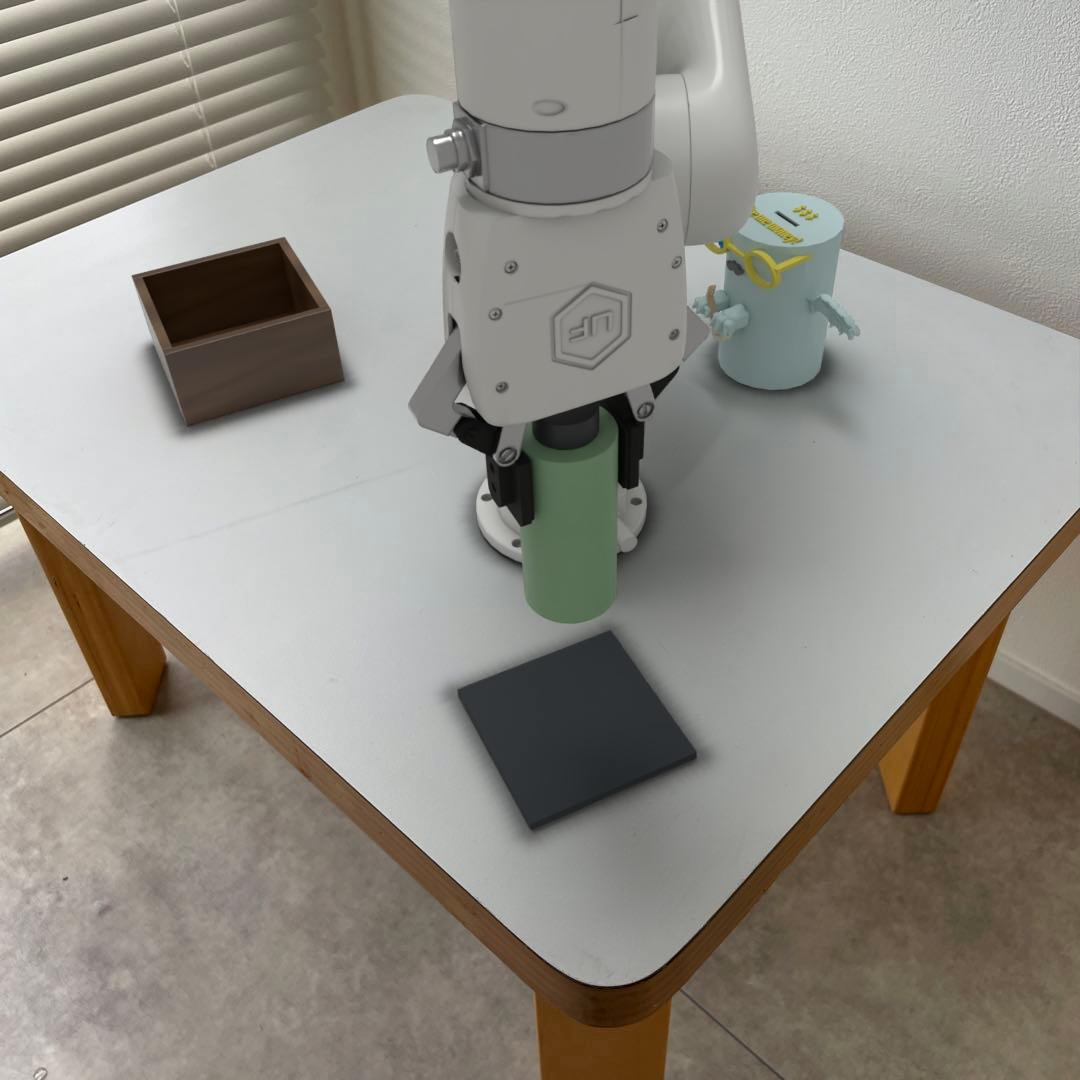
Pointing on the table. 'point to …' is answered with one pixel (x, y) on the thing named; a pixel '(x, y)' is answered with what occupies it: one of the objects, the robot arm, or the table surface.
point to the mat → (574, 727)
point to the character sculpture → (778, 292)
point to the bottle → (572, 515)
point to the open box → (239, 329)
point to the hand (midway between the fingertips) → (567, 487)
